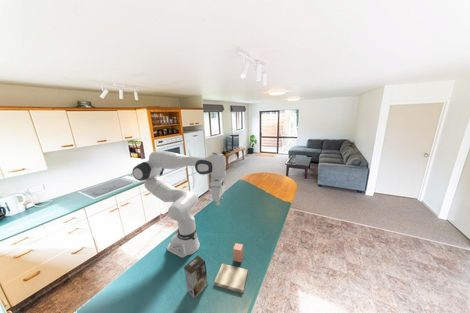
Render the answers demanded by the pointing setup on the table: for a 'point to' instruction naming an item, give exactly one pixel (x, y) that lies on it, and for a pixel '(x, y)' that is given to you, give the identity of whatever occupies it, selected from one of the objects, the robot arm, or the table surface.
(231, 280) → the birch board
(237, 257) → the brick block
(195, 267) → the coffee box
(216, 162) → the robot arm
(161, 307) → the table surface
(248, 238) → the table surface
